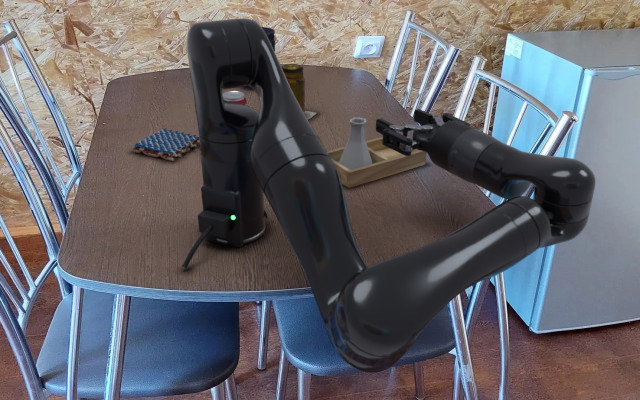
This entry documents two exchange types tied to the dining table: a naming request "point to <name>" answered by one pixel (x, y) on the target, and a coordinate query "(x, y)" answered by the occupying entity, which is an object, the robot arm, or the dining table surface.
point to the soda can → (235, 97)
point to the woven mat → (166, 144)
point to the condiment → (297, 85)
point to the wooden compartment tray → (377, 163)
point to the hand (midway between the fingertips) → (397, 119)
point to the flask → (356, 147)
